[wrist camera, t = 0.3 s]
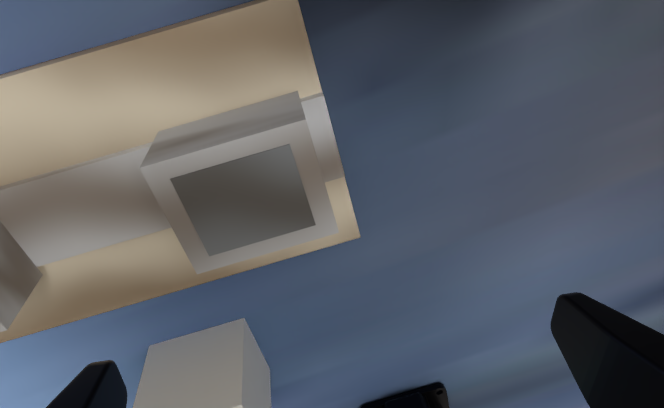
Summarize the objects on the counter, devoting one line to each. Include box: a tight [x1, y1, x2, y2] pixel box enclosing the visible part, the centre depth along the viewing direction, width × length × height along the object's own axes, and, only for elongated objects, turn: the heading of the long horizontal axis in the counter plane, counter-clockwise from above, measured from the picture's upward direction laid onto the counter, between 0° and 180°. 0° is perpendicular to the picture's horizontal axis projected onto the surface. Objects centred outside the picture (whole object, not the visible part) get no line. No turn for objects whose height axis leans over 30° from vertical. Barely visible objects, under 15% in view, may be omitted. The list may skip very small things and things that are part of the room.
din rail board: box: [0, 0, 360, 343], centre depth 19 cm, size 12×22×6 cm, turn 104°
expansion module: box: [133, 318, 271, 408], centre depth 25 cm, size 5×6×6 cm
